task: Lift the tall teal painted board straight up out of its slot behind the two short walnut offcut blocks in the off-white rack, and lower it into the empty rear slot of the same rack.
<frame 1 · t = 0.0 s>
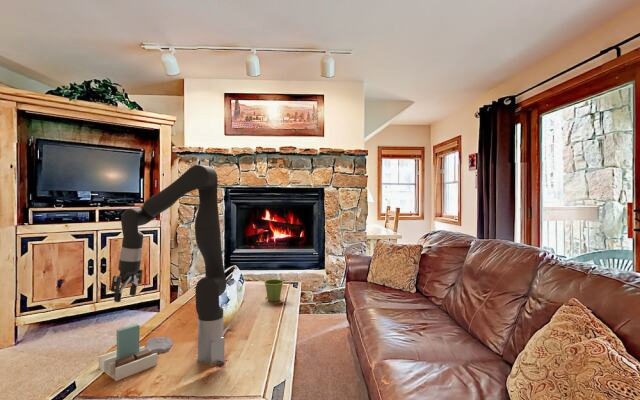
hand: (125, 298, 135), 22 cm above the table, tool pointing down, fingers open, 8 cm apart
plant pot: (273, 300, 208), on the table
stone block: (159, 351, 139), on the table
offcut b: (125, 373, 119), point 1 cm above the table, touching rack
offcut a: (142, 366, 123), point 1 cm above the table, touching rack
rack: (128, 369, 124), on the table
sheet: (128, 365, 124), point 1 cm above the table, touching rack
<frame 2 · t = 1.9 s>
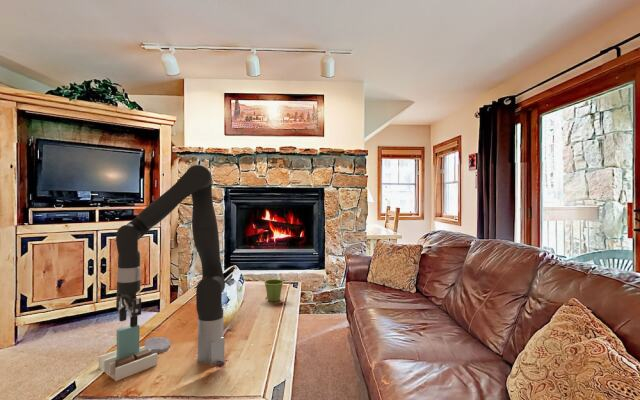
hand: (128, 323, 124), 17 cm above the table, tool pointing down, fingers open, 8 cm apart
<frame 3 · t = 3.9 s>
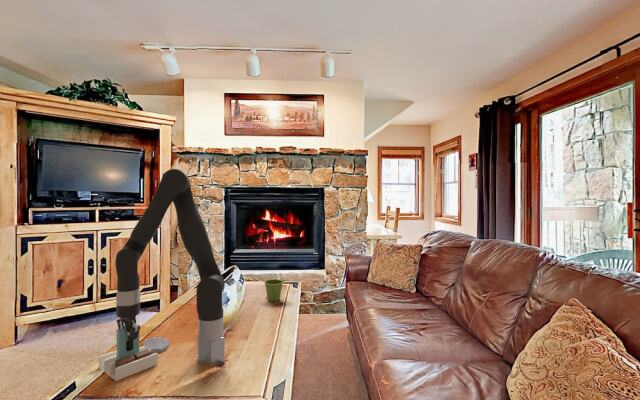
hand: (128, 349, 124), 8 cm above the table, tool pointing down, fingers closed on sheet, 2 cm apart
sheet: (128, 365, 124), point 2 cm above the table, touching gripper, rack
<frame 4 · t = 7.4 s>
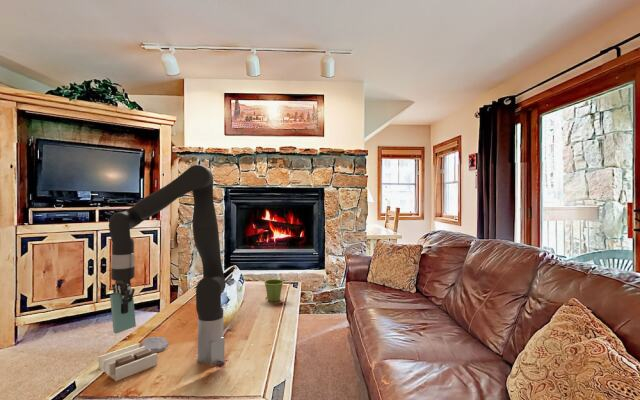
hand: (122, 312, 126), 20 cm above the table, tool pointing down, fingers closed on sheet
sheet: (124, 329, 127), point 13 cm above the table, tilted 5°, touching gripper
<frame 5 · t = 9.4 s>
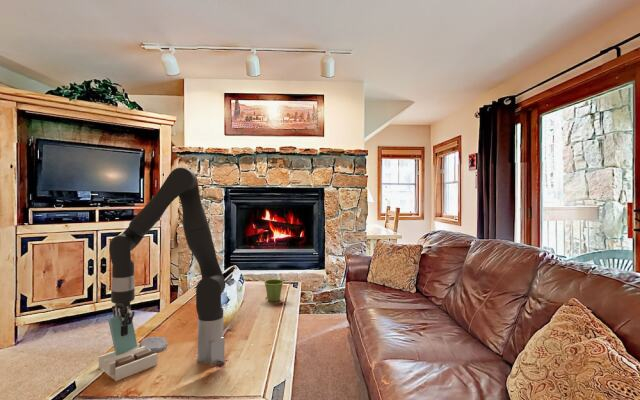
hand: (122, 334, 126), 12 cm above the table, tool pointing down, fingers closed on sheet
sheet: (126, 350, 127), point 5 cm above the table, tilted 11°, touching gripper
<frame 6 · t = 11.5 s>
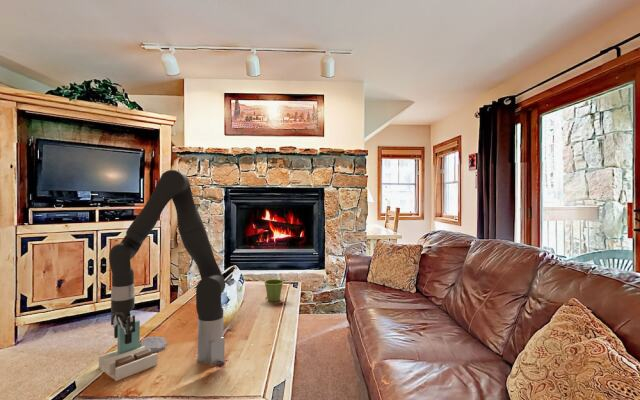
hand: (122, 340, 126), 10 cm above the table, tool pointing down, fingers open, 8 cm apart
sheet: (128, 359, 128), point 2 cm above the table, touching rack
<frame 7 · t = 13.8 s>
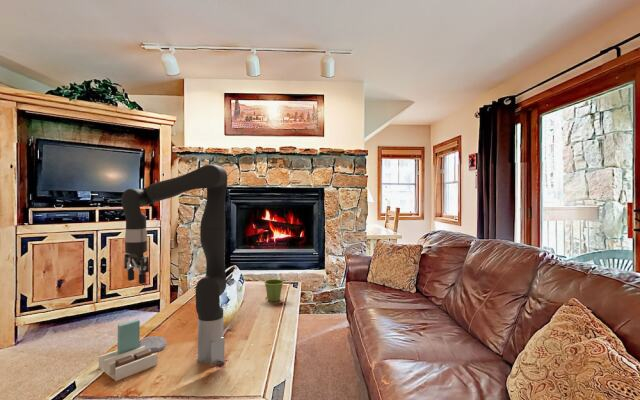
hand: (136, 281, 132), 30 cm above the table, tool pointing down, fingers open, 8 cm apart
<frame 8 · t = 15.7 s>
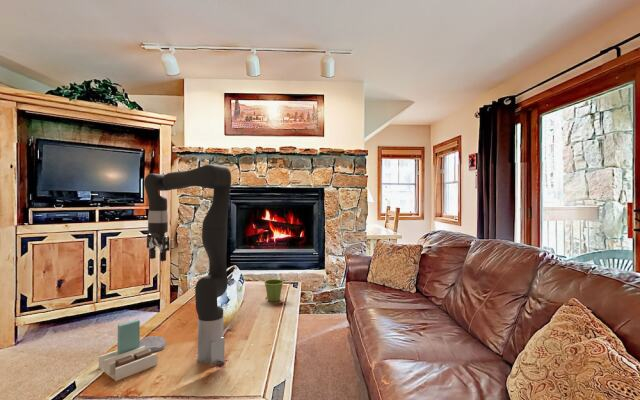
hand: (157, 259, 144), 36 cm above the table, tool pointing down, fingers open, 8 cm apart
at the end: sheet inside the target area on the rack (2.1 cm from its centre), point 1.5 cm above the rack's base; sheet tilted 0°; offcut b moved 0.0 cm from its start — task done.
